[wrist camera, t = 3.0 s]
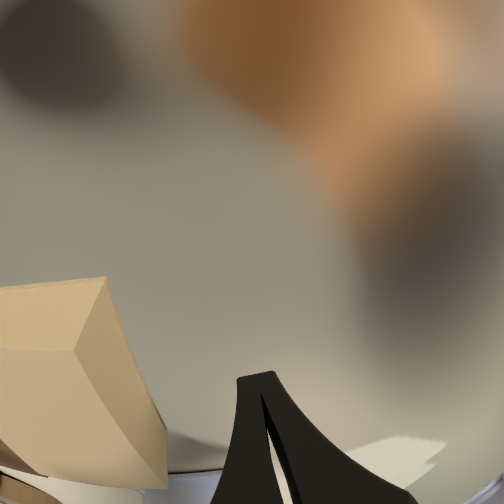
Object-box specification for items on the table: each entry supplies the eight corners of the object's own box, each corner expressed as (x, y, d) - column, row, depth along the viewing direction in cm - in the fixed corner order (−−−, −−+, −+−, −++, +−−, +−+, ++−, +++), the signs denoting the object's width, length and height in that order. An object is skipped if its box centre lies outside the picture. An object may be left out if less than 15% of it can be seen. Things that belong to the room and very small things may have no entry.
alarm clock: (51, 523, 19) (-42, 488, 11) (48, 496, 23) (-41, 459, 15) (76, 523, 18) (-41, 482, 9) (73, 489, 22) (-38, 445, 13)
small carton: (167, 428, 14) (168, 489, 11) (51, 423, 13) (38, 473, 9) (107, 275, 10) (73, 350, 6) (-31, 289, 9) (-74, 341, 5)
